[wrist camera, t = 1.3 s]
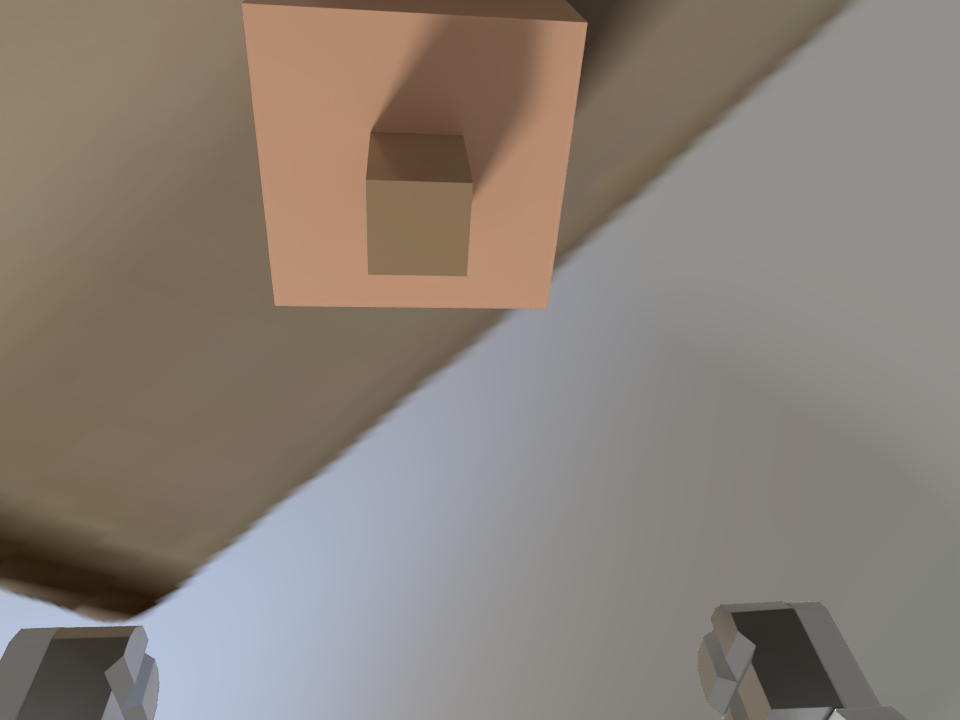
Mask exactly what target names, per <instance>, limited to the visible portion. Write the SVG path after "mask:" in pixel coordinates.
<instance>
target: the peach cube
mask: <svg viewBox="0 0 960 720" xmlns="http://www.w3.org/2000/svg"><path fill="white" fill-rule="evenodd" d="M242 10H243V19H244V28H245V37H246V46H247V55H248V64H249V74H250V83H251V92H252V101H253V110H254V119H255V128H256V137H257V147H258V156H259V165H260V174H261V183H262V192H263V201H264V210H265V220H266V229H267V238H268V247H269V256H270V265H271V274H272V283H273V293H274V302H275V306H339V307H426V308H513V309H547V306H548V299H549V292H550V285H551V278H552V271H553V264H554V257H555V250H556V243H557V236H558V229H559V222H560V215H561V208H562V200H563V193H564V186H565V179H566V172H567V165H568V158H569V151H570V144H571V137H572V130H573V123H574V116H575V109H576V102H577V95H578V88H579V81H580V74H581V66H582V59H583V52H584V45H585V38H586V31H587V24H588V22H587V21H586V20H585V19H584V18H583V17H582V16H581V15H580V14H579V13H578V12H577V11H576V10H575V9H574V8H573V7H572V6H571V5H570V4H569V3H568V2H567V1H566V0H244V1H243V2H242Z"/></svg>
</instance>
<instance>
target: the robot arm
mask: <svg viewBox="0 0 960 720" xmlns="http://www.w3.org/2000/svg"><path fill="white" fill-rule="evenodd" d="M711 622H712V624H713V627H714V630H713V631H712V632H710V633H709V634H707V635H706V636H704V637H703V640H702V643H701V645H700V648H699V652H698V659H699V660H698V667H699V674H700V680H701V685H702V688H703V691H704V694H705V697H706V700H707V702H708V703H709V704H710V705H711V706H712V707H713V708H715V709H716V710H717V711H718V712H719V713H720V714H721V715H722V716H723V717H722V720H908V719H907V718H906V717H904V716H903V715H902V714H901V713H899V712H898V711H897V710H896V709H894V708H893V707H892V706H881V705H880V703H879V701H878V699H877V698H876V696H875V694H874V692H873V690H872V688H871V687H870V685H869V683H868V681H867V680H866V678H865V676H864V674H863V672H862V671H861V669H860V667H859V665H858V663H857V662H856V660H855V658H854V656H853V655H852V653H851V651H850V649H849V647H848V645H847V644H846V642H845V640H844V638H843V637H842V635H841V633H840V631H839V629H838V627H837V626H836V624H835V622H834V620H833V619H832V617H831V615H830V613H829V612H828V610H827V608H826V607H825V606H823V605H822V604H821V603H820V602H817V601H805V602H803V601H802V602H782V601H781V602H764V603H744V604H726V605H720V606H719V607H717V608H715V610H714V612H713V615H712V617H711ZM147 643H148V638H147V636H146V633H145V630H144V628H143V626H116V627H75V628H64V627H59V628H58V627H57V628H30V629H21V630H20V631H19V632H18V633H17V634H16V635H15V636H14V637H13V639H12V640H11V641H10V642H9V644H8V646H7V648H6V650H5V653H4V654H3V656H2V658H1V660H0V720H154V716H155V712H156V708H157V701H158V692H159V675H158V668H157V665H156V662H155V659H154V658H152V657H150V656H149V655H147V654H146V653H145V650H146V646H147Z"/></svg>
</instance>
